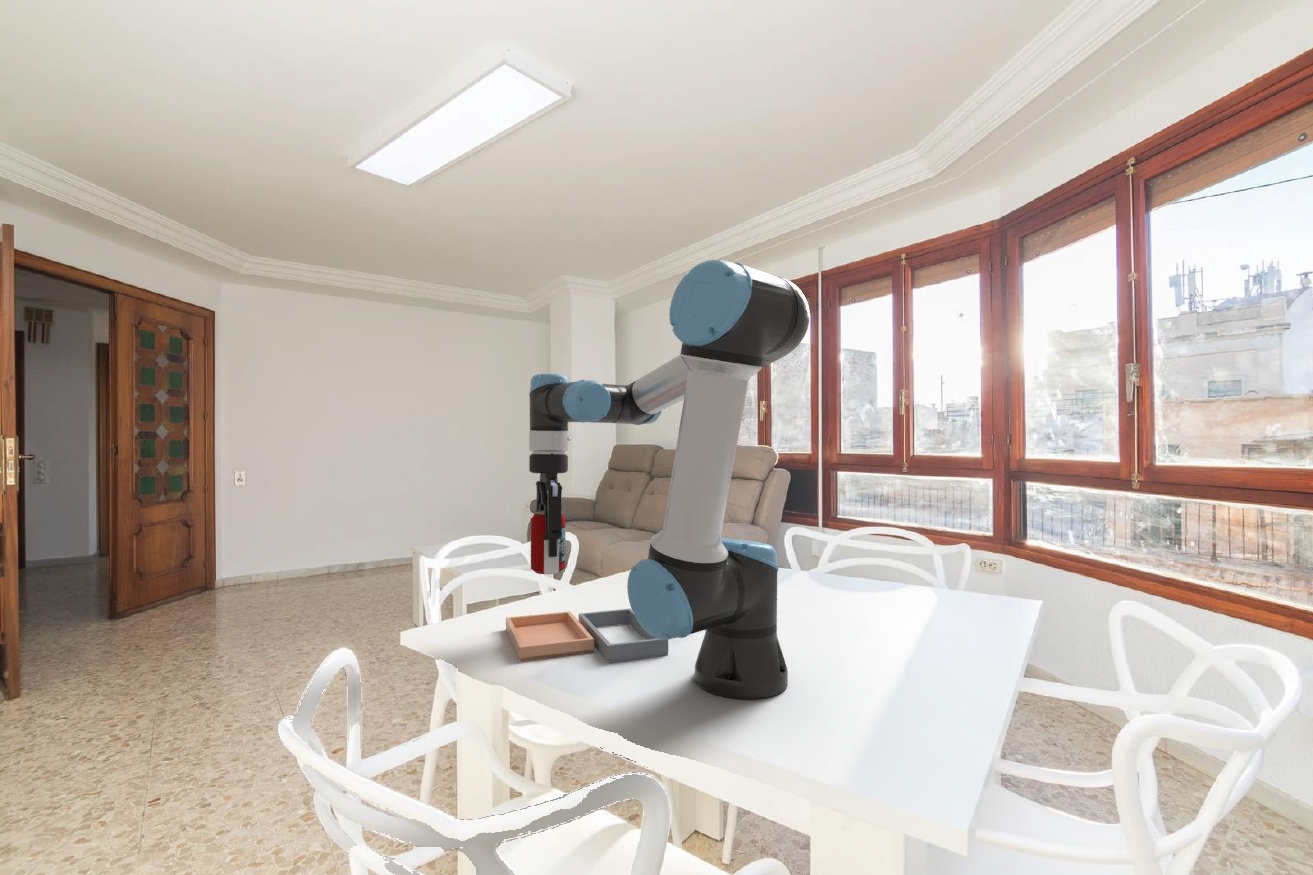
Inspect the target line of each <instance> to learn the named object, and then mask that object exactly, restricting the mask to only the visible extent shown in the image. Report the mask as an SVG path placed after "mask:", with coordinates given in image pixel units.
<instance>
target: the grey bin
mask: <svg viewBox="0 0 1313 875" xmlns="http://www.w3.org/2000/svg"><path fill="white" fill-rule="evenodd" d="M578 621H579V622H580V623H581V625H582V626H583V627H584V628H585V629H586V630H587V632H588V633H589V634H590V635H591V636H592V637H593V638H594V649H596V651H597V652H598V653H599V655H601V657H602V658H603V659H604V660H605V661H606V663H607V664H610V663H618V662H626V661H632V660H633V661H634V660H639V659H649V658H654V657H655V658H656V657H663V656H668V655H669V639H668V640H663V639H658V638H656V637H654V636H652V635H650V634H649V633H648V632H647V631H645V630H644V629H643V627H642V626H641V625H640V624H639V622H638V621H637V619H636V617H635V614H634V612H633V610H632V608H631V607H630V608H622V609H614V610H613V609H612V610H601V611H592V612H591V611H590V612H583V613H578ZM618 625H629V626H631V628H632V629H634V630H635V631H636V632H637V633H639V635H641V637H642V638H644V639H642V640H633V641H624V642H618V643H617V642H616V643H610V641H609V640H607V638H606V637H605V636H604V635H603V634H602V633H601V632H600V630H598V629H597V628H602V627H609V626H611V627H612V626H618Z"/></svg>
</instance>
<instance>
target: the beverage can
mask: <svg viewBox="0 0 1313 875" xmlns="http://www.w3.org/2000/svg"><path fill="white" fill-rule="evenodd" d="M561 514H562V537H560V538H559V573H560V572H561V571H562V570H563V571H564V569H565V568H566V517H565V515H564V514H563V511H562V510H561ZM543 536H546V531H545V512H544V510H536V509H535V510H534V514H533V515H532V517H531V519H530V570H531V571H533V572H534V573H535V574H538V575H545V574H544V540H542V537H543ZM555 574H557V573H554V574H553V575H555Z"/></svg>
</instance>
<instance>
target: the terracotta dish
mask: <svg viewBox="0 0 1313 875" xmlns="http://www.w3.org/2000/svg"><path fill="white" fill-rule="evenodd" d="M505 631H506V633H507V636H508V638H509V640H510V642H511V645H512V647H513V649H514V652H515V654H516V657H517V658H518V661H519V662H520V661H521V662H528V661H527V660H529V661H536V659H537V660H542V659H552V658H558V657H559V658H560V657H567V656H575V655H583V654H593V653H594V652H595V647H594V638H593V637H592V636H591V635H590V634H589V633H588V632H587V630H586V629H585V628H584V627H583V626H582V625H581V623H580V622H579V619H577V618H576V616H575V615H574V614H573V613H572V612H571V611H560V612H549V613H541V614H529V615H519V616H510V617H509V616H506V617H505Z"/></svg>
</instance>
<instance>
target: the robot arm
mask: <svg viewBox="0 0 1313 875" xmlns="http://www.w3.org/2000/svg"><path fill="white" fill-rule="evenodd" d="M669 323H670V325H671V326H672V327H673V328H672V332H673V334H674V335H675V337H676V338H677V339H678V340H679V341H680V342H681V348H680V349H681V350H680V354H679V355H677V356H675V357H674V358H672V359H670V360H668V361H667V362H665V363H664V364H661V365H660V366H658V367H657V368H655V369H654V370H652V371H650V372H648V373H647V374H645V375H643V376H641V377H640V378H638V379H636V380H634V381H633V382H631V383H629V384H626V385H622V384H608V383H607V384H606V383H601V382H600V381H597V380H594V379H591V380H588V379H587V380H585V379H579V380H576V381H570V382H569V378H568V376H567V375H564V374H560V373H559V374H558V373H537V374H535V375H533V376H532V377H531V379H530V388H529V389H530V390H529V392H528V396H529V431H528V433H529V438H528V442H529V444H528V445H529V446H528V450H529V451H530V452H532V453H531V454H529V456H528V458H529V459H528V463H529V464H528V469H529V470H528V471H529V472H530V473H532V474H539V480H537V481H536V483H535V486H536V497H535V498H536V502H535V503H536V505H535V511H536V510H544V512H545V531H546V536H543V537H542V540H544V574H543V575H555V574H554V573H556V574H559V573H560V572H559V538H560V537H562V514H561V511H562V490H563V485H561V483H560V482H559V480H558V474H564V473H565V474H566V473H567V472H568V470H569V456H568V454H567V453H565V452H567V451H568V448H569V445H568V444H569V442H570V441H571V436H570V435H569V432H568V431H569V423H583V424H584V423H593V424H595V423H596V424H597V423H599V424H623V425H625V424H626V425H637V426H640V425H641V426H642V425H650V424H653V423H654V422H656V421H657V420H658V418H659V417H660V416H661V414H662V412H663V410H665V409H667V408H669V407H672V406H673V405H676V404H677V403H680V402H681V401H683V402H682V403H683V404H682V408H681V415H680V421H679V428H678V433H677V441H676V445H675V446H676V447H675V454H674V460H673V465H672V471H671V476H670V478H671V479H670V483H669V484H670V485H669V488H668V496H667V501H666V509H665V512H664V513H665V514H664V521H663V526H662V530H660V531H659V532H658V533H656V534H654V535H652V537H651V538H650V543H649V544H650V545H649V550H648V555H647V558H645V559H640V560H639V561H638V562H637V563H636V564H635V565H633V566H632V568H631V569H630V571H629V574H628V577H627V585H626V587H627V589H626V590H627V596H628V597H627V598H628V601H629V605H630V608H631V609H632V610H633V612H634V614H635V617H636V619H637V621H638V622H639V624H640V625H641V626H642V627H643V629H644V630H645V631H647V632H648V633H649V634H650V635H652V636H654V637H656V638H658V639H663V640H668V641H669V640H673V639H677V638H678V639H683V638H686V637H687V636H690V635H692V634H696V633H699V632H703V631H705V634H704V635H703V639H702V641H701V642H702V643H701V644H700V645H701V646H700V648H699V652H698V654H697V658H696V660H695V664H694V680H695V682H696V684H697V685H698V686H699V687H700V688H701V689H704V690H705V691H707V692H709V693H712V694H715V695H716V696H717V695H718V696H722V697H727V698H732V699H747V700H748V699H749V700H750V699H751V700H753V699H754V700H755V699H763V698H769V697H772V696H776V695H779V694H781V693H782V692H784V691H785V690H786V689H787V688H788V683H789V682H788V681H789V680H788V678H789V677H788V676H789V674H788V673H789V672H788V667H787V663H786V660H785V657H784V653H783V650H782V648H781V645H780V642H779V638H778V630H777V629H778V625H777V624H778V572H779V567H778V556H777V551H776V549H775V548H774V546H772V545H771V544H769V543H765V542H759V541H753V540H747V539H746V540H745V539H738V538H737V539H736V538H728V537H721V536H722V531H723V527H724V520H725V515H726V510H727V504H728V499H729V492H730V487H731V480H732V476H733V469H734V464H735V458H736V453H737V448H738V441H739V438H740V437H739V434H740V430H741V424H742V420H743V414H744V408H745V402H746V396H747V393H748V392H747V390H748V386H749V380H750V379H751V378H752V377H753V376H754V375H756V374H758V372H760V371H762V369H763V368H764V367H766V366H768V365H770V364H772V363H774V362H776V361H778V360H780V359H782V358H784V357H785V356H787V355H789V354H790V353H792V352H793V351H794V350H795V349H796V348H797V347H798V346H799V345H800V344H801V343H802V341H803V339H804V338H805V336H806V334H807V331H808V329H809V325H810V308H809V304H808V301H807V299H806V297H805V295H804V294H803V292H802V290H801V289H800V288H799V287H798V286H797V285H796V284H795V283H793V282H792V281H790V280H788V279H787V278H784V277H782V276H778V275H773V274H770V273H767V272H764V271H761V270H758V269H756V268H752V267H749V266H747V265H744V264H743V263H740V262H733V261H727V260H722V259H721V260H720V259H709V260H706V261H703V262H699V263H698V264H696V265H695V266H694V267H691V269H690V270H689V272H688V273H687V274H685V275H684V276H683V277H682V278H681V280H680V281H679V283H678V284H677V286H676V287H675V290H674V292H673V294H672V298H671V300H670V306H669ZM568 435H569V436H568Z"/></svg>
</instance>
